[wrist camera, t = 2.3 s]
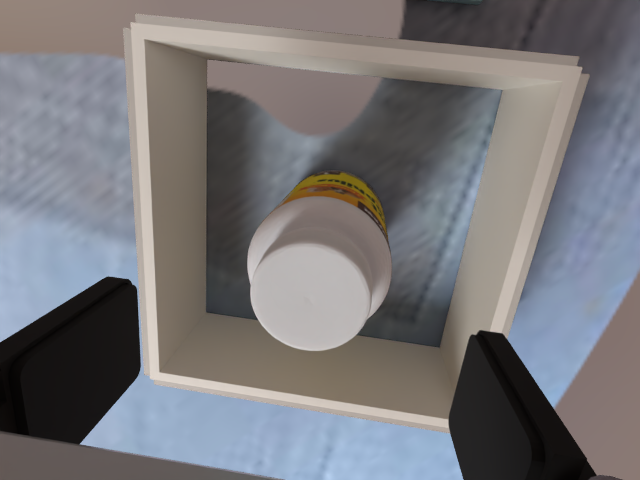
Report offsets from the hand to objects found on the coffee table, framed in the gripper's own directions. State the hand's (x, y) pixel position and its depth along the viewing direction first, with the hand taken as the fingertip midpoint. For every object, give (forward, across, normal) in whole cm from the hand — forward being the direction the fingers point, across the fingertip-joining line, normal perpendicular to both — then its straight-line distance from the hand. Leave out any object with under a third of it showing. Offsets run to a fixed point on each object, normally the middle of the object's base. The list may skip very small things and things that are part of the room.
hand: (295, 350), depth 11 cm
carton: (+12, 0, -1) cm, 12 cm away
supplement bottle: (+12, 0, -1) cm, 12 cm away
